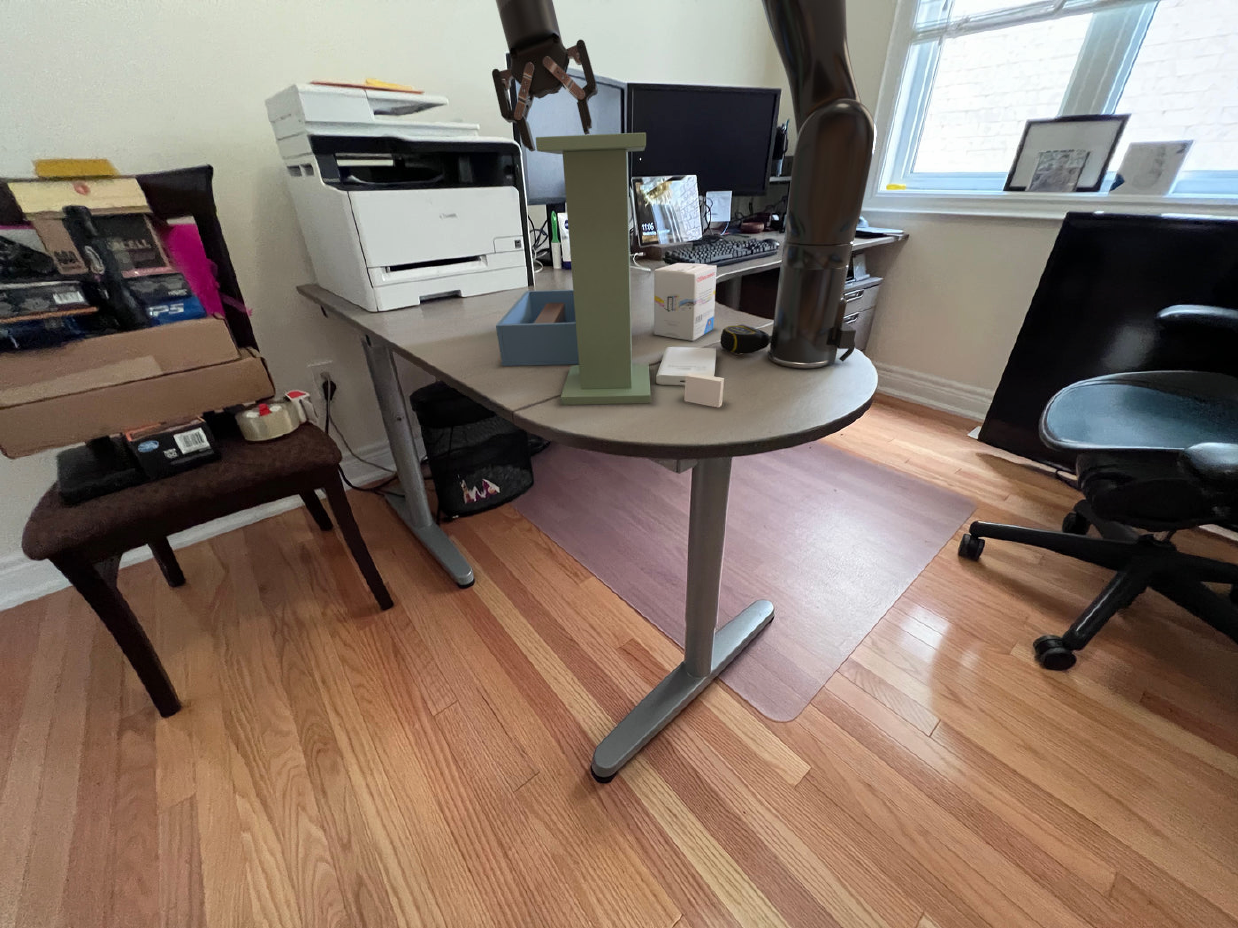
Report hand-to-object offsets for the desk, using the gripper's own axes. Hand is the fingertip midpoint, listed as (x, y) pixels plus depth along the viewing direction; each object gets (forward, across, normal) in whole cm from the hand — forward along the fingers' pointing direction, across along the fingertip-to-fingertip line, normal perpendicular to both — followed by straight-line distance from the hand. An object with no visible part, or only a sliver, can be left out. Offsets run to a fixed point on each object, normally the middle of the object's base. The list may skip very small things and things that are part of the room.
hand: (559, 141), depth 73 cm
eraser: (+38, +13, -20) cm, 45 cm away
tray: (+28, -11, +6) cm, 31 cm away
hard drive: (+36, +12, -9) cm, 39 cm away
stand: (+34, 0, -15) cm, 37 cm away
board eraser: (+28, -11, +6) cm, 30 cm away
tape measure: (+37, +22, +1) cm, 43 cm away
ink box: (+33, +13, +11) cm, 37 cm away
